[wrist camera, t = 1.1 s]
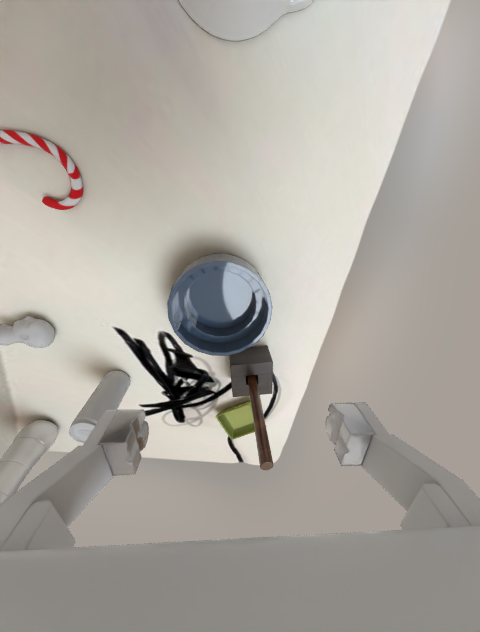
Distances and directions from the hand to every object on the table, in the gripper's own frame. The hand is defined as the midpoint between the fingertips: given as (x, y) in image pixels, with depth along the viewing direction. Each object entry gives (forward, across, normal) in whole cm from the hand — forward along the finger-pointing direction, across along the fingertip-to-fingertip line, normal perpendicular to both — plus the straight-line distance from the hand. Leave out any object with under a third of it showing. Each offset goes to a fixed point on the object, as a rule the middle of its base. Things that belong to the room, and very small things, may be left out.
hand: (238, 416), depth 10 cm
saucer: (+30, -2, +34) cm, 45 cm away
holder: (+30, -3, +19) cm, 36 cm away
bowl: (+29, +2, +5) cm, 30 cm away
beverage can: (+29, +23, +22) cm, 43 cm away
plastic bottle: (+29, +40, +34) cm, 60 cm away
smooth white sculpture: (+29, +34, +10) cm, 45 cm away
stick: (+30, -3, +19) cm, 36 cm away
